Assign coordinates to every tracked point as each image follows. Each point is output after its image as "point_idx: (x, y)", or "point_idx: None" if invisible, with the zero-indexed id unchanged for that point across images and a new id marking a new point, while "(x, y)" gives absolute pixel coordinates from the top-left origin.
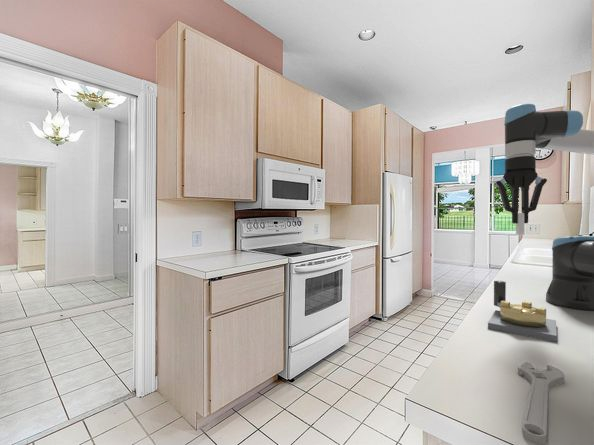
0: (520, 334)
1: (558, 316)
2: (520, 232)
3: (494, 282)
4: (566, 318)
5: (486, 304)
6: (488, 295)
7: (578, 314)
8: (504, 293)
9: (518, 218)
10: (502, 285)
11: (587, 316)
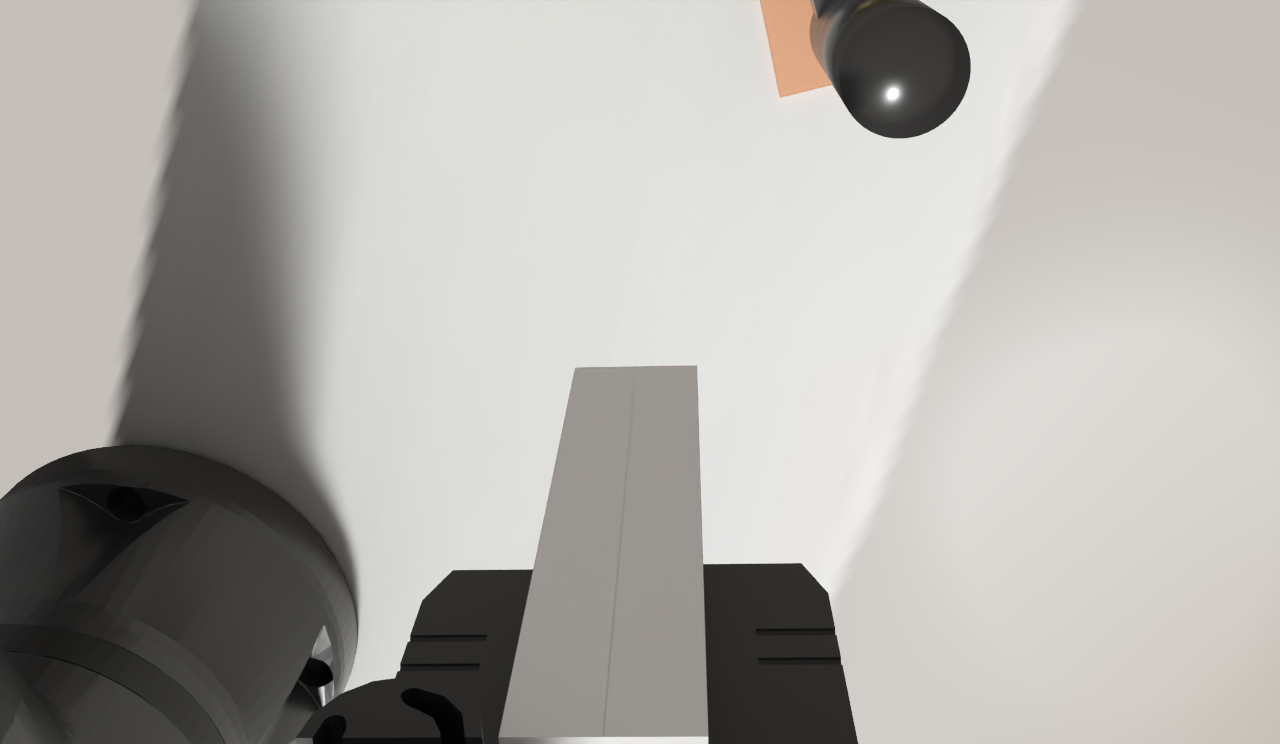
0: None
1: (366, 156)
2: (653, 383)
3: (967, 51)
4: (318, 116)
5: (889, 325)
6: None
7: (204, 290)
8: (844, 10)
9: (700, 604)
10: (885, 3)
11: (151, 254)
